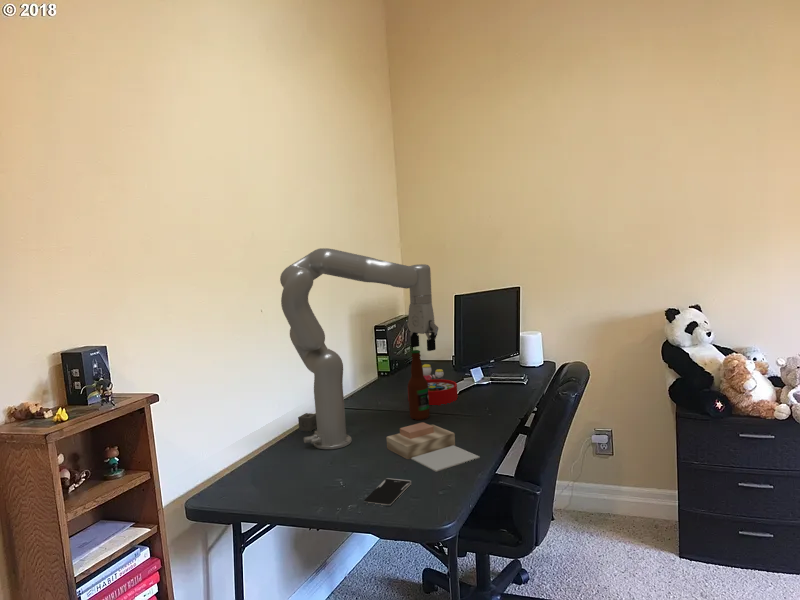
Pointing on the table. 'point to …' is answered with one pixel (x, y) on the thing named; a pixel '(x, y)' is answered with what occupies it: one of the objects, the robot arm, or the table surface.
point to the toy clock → (441, 391)
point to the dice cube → (307, 422)
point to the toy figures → (427, 372)
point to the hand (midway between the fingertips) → (423, 348)
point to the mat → (445, 458)
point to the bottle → (418, 390)
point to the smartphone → (388, 491)
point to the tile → (416, 430)
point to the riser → (420, 443)
